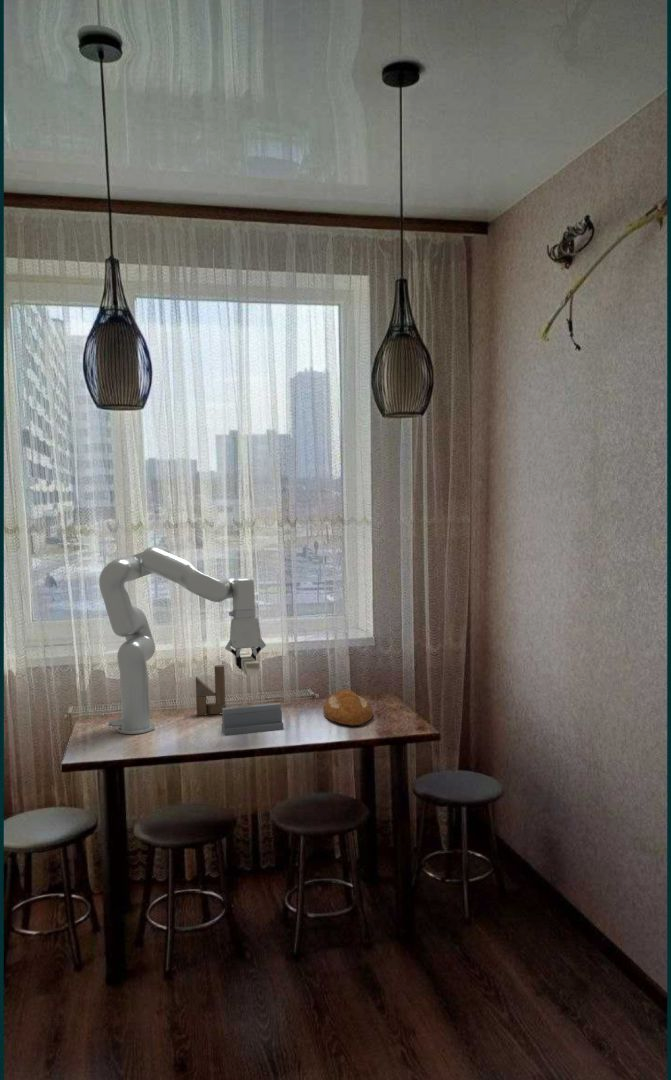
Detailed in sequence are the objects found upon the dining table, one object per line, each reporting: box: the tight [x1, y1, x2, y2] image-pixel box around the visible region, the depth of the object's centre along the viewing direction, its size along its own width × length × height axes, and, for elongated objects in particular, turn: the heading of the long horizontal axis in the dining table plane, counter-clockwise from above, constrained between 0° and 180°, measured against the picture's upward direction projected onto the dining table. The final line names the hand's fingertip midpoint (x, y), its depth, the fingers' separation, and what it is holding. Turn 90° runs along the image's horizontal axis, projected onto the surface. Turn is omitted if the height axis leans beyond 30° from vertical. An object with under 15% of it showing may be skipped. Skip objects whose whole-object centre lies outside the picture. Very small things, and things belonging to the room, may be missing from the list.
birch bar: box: [234, 650, 260, 677], centre depth 290 cm, size 24×4×4 cm, turn 16°
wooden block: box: [195, 664, 227, 716], centre depth 314 cm, size 4×11×18 cm, turn 98°
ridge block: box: [221, 702, 284, 736], centre depth 291 cm, size 20×8×8 cm, turn 107°
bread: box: [322, 689, 373, 727], centre depth 307 cm, size 18×35×9 cm, turn 6°
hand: (246, 666), depth 290 cm, fingers closed on birch bar, 4 cm apart
